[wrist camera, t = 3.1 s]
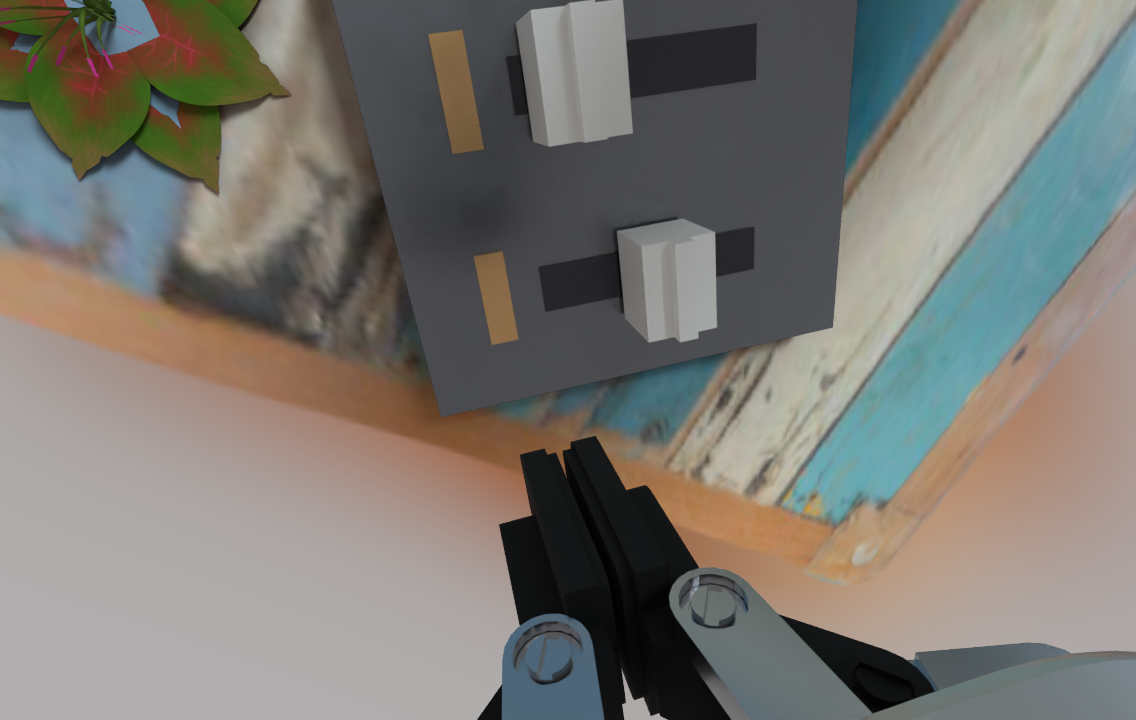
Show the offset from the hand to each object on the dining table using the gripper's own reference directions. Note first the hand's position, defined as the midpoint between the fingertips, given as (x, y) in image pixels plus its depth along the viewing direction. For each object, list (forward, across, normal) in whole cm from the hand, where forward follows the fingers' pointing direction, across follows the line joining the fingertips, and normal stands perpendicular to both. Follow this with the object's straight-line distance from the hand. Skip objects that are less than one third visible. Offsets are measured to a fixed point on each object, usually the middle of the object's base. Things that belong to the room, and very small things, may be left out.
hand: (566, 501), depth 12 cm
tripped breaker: (+13, -7, 0) cm, 15 cm away
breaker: (+13, -4, -8) cm, 16 cm away
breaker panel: (+16, -7, -4) cm, 18 cm away
